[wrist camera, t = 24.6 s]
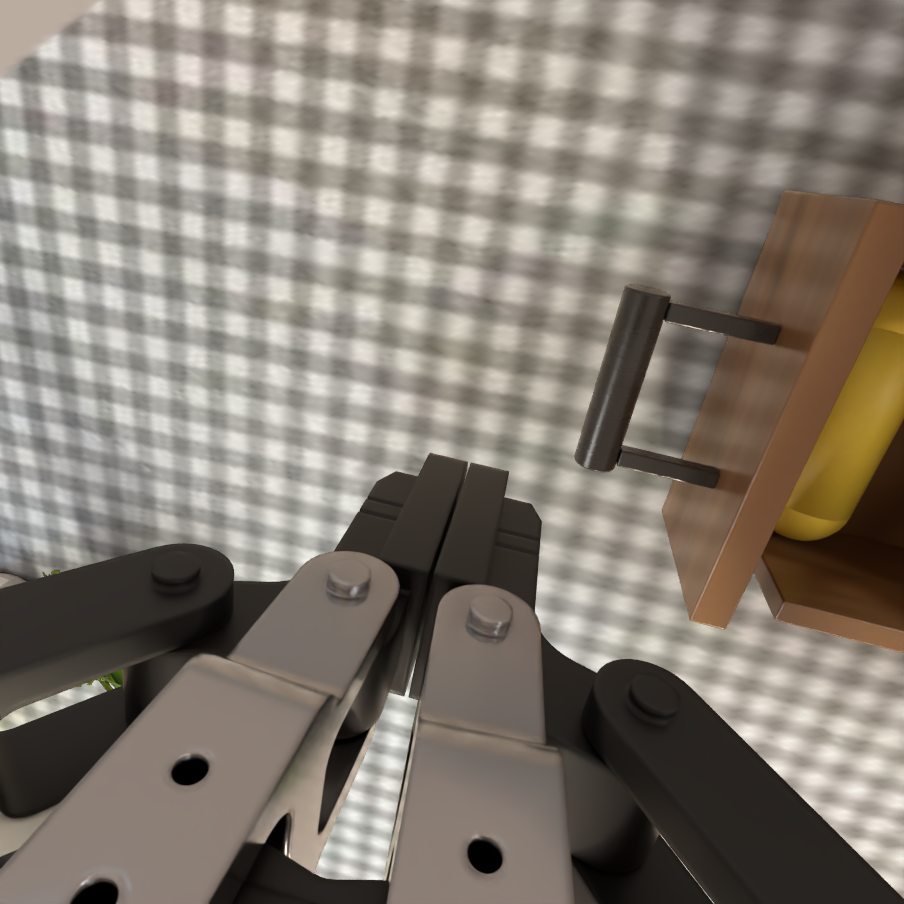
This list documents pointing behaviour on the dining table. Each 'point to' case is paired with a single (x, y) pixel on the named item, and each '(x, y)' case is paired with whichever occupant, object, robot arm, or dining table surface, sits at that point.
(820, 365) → the drawer
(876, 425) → the yellow round-top cylinder
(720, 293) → the dining table surface
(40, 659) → the robot arm
